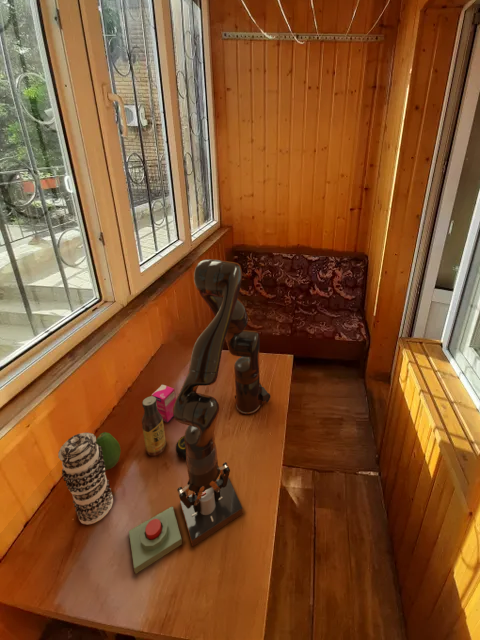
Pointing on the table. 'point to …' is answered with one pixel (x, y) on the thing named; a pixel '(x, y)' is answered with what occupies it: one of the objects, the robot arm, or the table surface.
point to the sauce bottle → (153, 427)
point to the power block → (154, 540)
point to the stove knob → (207, 502)
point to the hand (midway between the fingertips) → (207, 504)
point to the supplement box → (165, 401)
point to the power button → (153, 529)
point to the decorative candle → (86, 477)
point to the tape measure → (181, 448)
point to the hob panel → (212, 515)
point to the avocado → (109, 449)
